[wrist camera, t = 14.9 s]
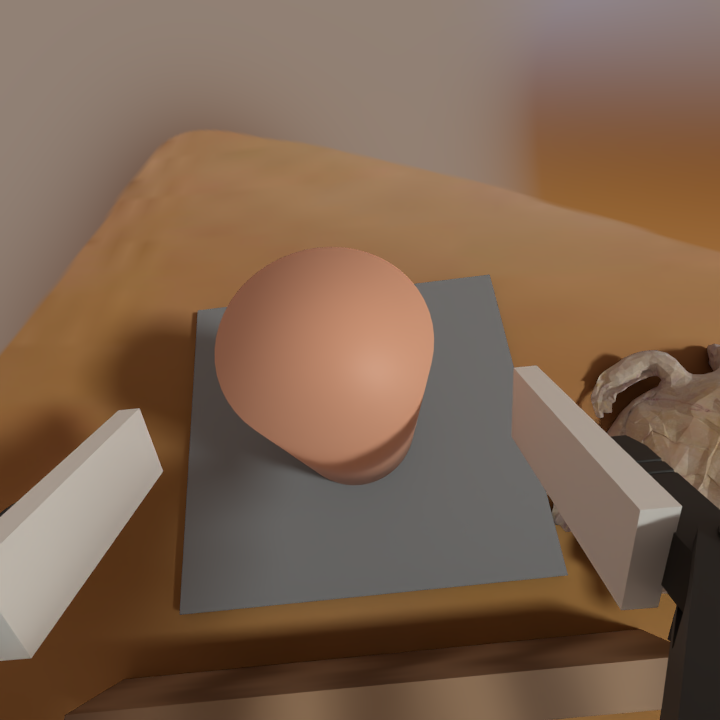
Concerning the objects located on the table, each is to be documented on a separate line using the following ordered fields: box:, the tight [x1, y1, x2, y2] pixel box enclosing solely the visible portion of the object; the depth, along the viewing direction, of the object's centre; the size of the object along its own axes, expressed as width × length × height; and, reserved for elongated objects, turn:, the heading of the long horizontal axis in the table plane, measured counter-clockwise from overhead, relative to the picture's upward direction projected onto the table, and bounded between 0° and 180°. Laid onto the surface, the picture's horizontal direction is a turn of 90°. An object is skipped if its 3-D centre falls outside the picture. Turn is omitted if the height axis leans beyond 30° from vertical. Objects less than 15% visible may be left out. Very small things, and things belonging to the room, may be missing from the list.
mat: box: [180, 275, 568, 615], centre depth 24 cm, size 20×18×1 cm
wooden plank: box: [64, 629, 670, 720], centre depth 18 cm, size 26×2×4 cm, turn 96°
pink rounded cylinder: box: [215, 247, 434, 485], centre depth 18 cm, size 7×7×12 cm
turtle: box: [552, 344, 720, 593], centre depth 19 cm, size 16×10×10 cm, turn 170°
